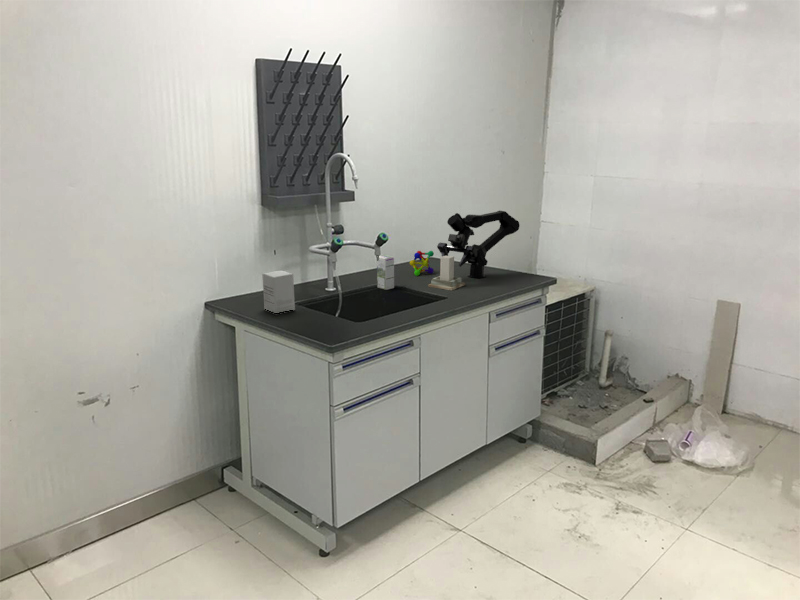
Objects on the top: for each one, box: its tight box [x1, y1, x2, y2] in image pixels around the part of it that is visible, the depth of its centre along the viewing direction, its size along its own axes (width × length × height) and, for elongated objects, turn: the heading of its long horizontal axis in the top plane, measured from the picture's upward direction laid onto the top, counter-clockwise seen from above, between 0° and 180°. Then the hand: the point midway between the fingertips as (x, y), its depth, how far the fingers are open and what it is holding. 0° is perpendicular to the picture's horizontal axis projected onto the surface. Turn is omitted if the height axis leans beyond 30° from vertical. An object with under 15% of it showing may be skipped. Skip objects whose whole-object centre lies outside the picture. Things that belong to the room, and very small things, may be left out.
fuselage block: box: [439, 255, 455, 281], centre depth 287 cm, size 4×4×12 cm
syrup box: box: [376, 254, 395, 291], centre depth 282 cm, size 6×6×14 cm
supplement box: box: [261, 269, 296, 314], centre depth 247 cm, size 9×9×15 cm
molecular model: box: [409, 250, 434, 277], centre depth 310 cm, size 12×7×12 cm, turn 125°
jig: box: [427, 275, 466, 291], centre depth 288 cm, size 12×12×4 cm
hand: (450, 264), depth 288 cm, fingers open, 9 cm apart
